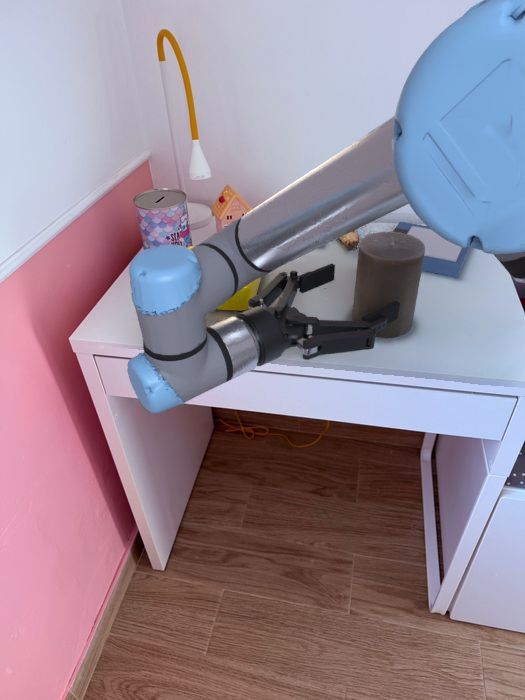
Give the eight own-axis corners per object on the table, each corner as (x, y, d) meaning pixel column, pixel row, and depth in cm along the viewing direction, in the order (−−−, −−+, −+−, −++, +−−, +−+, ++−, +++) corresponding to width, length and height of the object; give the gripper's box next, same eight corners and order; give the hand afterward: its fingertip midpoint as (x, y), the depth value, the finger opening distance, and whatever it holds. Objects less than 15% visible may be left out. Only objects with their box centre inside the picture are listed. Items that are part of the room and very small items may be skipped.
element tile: (264, 268, 100) (264, 246, 97) (251, 312, 88) (250, 288, 85) (188, 264, 102) (185, 242, 99) (166, 307, 90) (162, 283, 87)
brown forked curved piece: (306, 221, 117) (321, 257, 102) (306, 201, 114) (321, 235, 99) (347, 217, 117) (368, 252, 103) (348, 197, 114) (369, 230, 100)
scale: (471, 245, 105) (474, 232, 103) (458, 277, 95) (461, 263, 93) (398, 232, 110) (399, 219, 108) (378, 261, 100) (379, 248, 99)
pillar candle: (388, 346, 80) (401, 259, 70) (339, 321, 85) (345, 237, 76) (424, 320, 85) (441, 236, 75) (376, 298, 90) (386, 216, 81)
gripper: (201, 321, 79) (309, 278, 88) (304, 416, 63) (423, 350, 72) (195, 279, 74) (310, 237, 84) (305, 369, 58) (433, 305, 67)
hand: (363, 289), depth 78 cm, fingers open, 13 cm apart
